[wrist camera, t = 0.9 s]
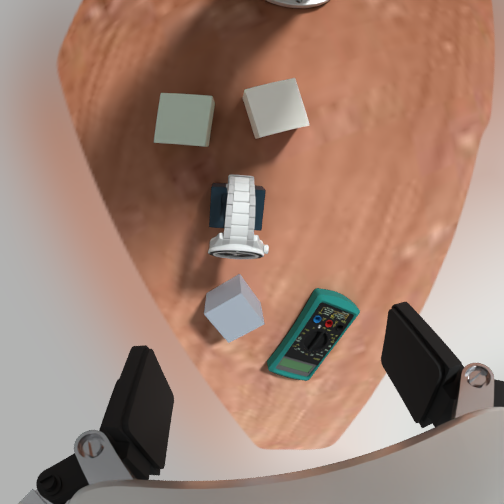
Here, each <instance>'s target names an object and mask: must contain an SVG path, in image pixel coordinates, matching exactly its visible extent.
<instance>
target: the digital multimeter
mask: <svg viewBox="0 0 504 504" xmlns="http://www.w3.org/2000/svg"><path fill="white" fill-rule="evenodd" d="M316 308H317V309H316ZM359 313H360V310H359V309H358V308H357V306H356V305H355V304H354V303H353V302H352V301H351V300H350V299H348V298H347V297H345V296H344V295H342V294H340V293H338V292H335V291H331V290H326V289H319V288H317V289H315V290H314V291H313V293H312V295H311V297H310V298H309V300H308V302H307V304H306V306H305V307H304V309H303V311H302V312H301V314H300V316H299V317H298V319H297V320H296V322H295V324H294V325H293V327H292V328H291V330H290V331H289V333H288V334H287V335H286V337H285V338H284V340H283V341H282V343H281V344H280V345H279V347H278V348H277V349H276V350H275V352H274V353H273V354H272V356H271V357H270V358H269V359H268V361H267V365H268V370H269V371H270V372H273V373H276V374H279V375H282V376H285V377H288V378H293V379H298V380H305V381H307V380H309V379H310V378H311V377H312V375H313V374H314V373H315V371H316V370H317V369H318V367H319V366H320V364H321V363H322V362H323V360H324V359H325V358H326V356H327V355H328V354H329V353H330V351H331V350H332V349H333V347H334V346H335V345H336V343H337V342H338V341H339V339H340V338H341V337H342V335H343V334H344V333H345V331H346V330H347V329H348V327H349V326H350V325H351V324H352V322H353V321H354V320H355V318H356V317H357V316H358V314H359ZM310 317H311V318H310ZM308 320H309V321H308ZM306 323H307V324H306ZM304 326H305V327H304ZM302 329H303V330H302ZM295 339H296V340H295ZM293 342H294V343H293ZM288 349H289V350H288ZM308 351H309V352H308Z"/></svg>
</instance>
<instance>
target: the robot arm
mask: <svg viewBox="0 0 504 504" xmlns="http://www.w3.org/2000/svg"><path fill="white" fill-rule="evenodd" d="M266 1H268V2H270V3H273V4H276V5H280V6H285V7H290V8H311V7H315V6H319V5H322V4H324V3H326V2H328V1H329V0H266ZM297 2H298V3H297ZM381 362H382V365H383V367H384V369H385V371H386V372H387V374H388V376H389V377H390V379H391V381H392V382H393V384H394V386H395V387H396V389H397V391H398V393H399V394H400V396H401V398H402V400H403V401H404V403H405V405H406V407H407V408H408V410H409V412H410V414H411V416H412V417H413V419H414V421H415V422H416V423H419V424H420V425H421V427H422V428H424V427H426V426H428V425H430V424H432V423H433V425H434V426H435V428H433V429H431V430H428V431H426V432H424V433H421V434H419V435H417V436H414V437H412V438H409V439H407V440H404V441H402V442H400V443H397V444H394V445H391V446H389V447H386V448H383V449H380V450H377V451H374V452H371V453H368V454H365V455H362V456H359V457H355V458H352V459H348V460H345V461H341V462H337V463H333V464H329V465H326V466H321V467H317V468H312V469H307V470H302V471H297V472H292V473H285V474H279V475H272V476H265V477H256V478H247V479H236V480H219V481H160V480H148V479H149V475H160V469H163V468H164V466H165V458H166V451H167V444H168V437H169V430H170V423H171V416H172V409H173V403H174V396H173V393H172V391H171V389H170V387H169V385H168V382H167V380H166V378H165V376H164V374H163V372H162V370H161V367H160V365H159V363H158V361H157V358H156V356H155V354H154V351H153V350H152V349H149V348H148V347H147V346H133V347H132V348H131V350H130V353H129V355H128V358H127V361H126V363H125V366H124V368H123V371H122V373H121V376H120V379H119V380H117V382H116V384H115V387H114V390H113V393H112V395H111V398H110V401H109V404H108V407H107V410H106V412H105V415H104V418H103V421H102V424H101V427H100V430H99V431H97V430H89V431H87V432H84V433H82V434H81V435H80V436H79V437H78V438H77V439H76V441H75V444H74V452H75V453H74V454H73V455H71V456H69V457H68V458H66V459H64V460H62V461H61V462H59V463H57V464H55V465H53V466H52V467H50V468H48V469H46V470H44V471H43V472H42V473H41V474H40V475H39V477H38V479H37V490H36V491H35V490H33V489H32V490H31V491H30V492H29V493H28V494H27V495H26V496H25V497H24V498H23V499H22V500H21V501H20V502H19V504H504V381H499V380H494V374H493V373H492V371H491V369H490V368H489V367H487V366H486V365H484V364H481V363H471V364H469V365H467V366H465V368H464V366H463V365H462V363H461V362H460V360H459V359H458V358H457V357H456V356H455V354H454V353H453V352H452V351H451V350H450V349H449V347H448V346H447V345H446V344H445V343H444V342H443V341H442V339H441V338H440V337H439V336H438V335H437V334H436V333H435V332H434V331H433V330H432V328H431V327H430V326H429V325H428V324H427V323H426V322H425V321H424V320H423V318H422V317H421V316H420V315H419V314H418V313H417V312H416V311H415V310H414V309H413V308H412V307H411V306H410V305H409V304H408V303H407V302H402V303H398V304H395V305H393V306H392V309H390V310H389V312H388V319H387V326H386V333H385V339H384V345H383V351H382V356H381Z"/></svg>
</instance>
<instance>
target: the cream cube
mask: <svg viewBox="0 0 504 504" xmlns="http://www.w3.org/2000/svg"><path fill="white" fill-rule="evenodd" d="M242 98H243V101H244V104H245V108H246V111H247V114H248V117H249V120H250V123H251V127H252V130H253V133H254V136H255V139H257V138H261V137H264V136H268V135H272V134H275V133H279V132H283V131H287V130H291V129H295V128H300V127H304V126H308V125H309V121H308V118H307V115H306V111H305V108H304V105H303V101H302V98H301V95H300V92H299V89H298V86H297V83H296V80H295V78H292V79H287V80H282V81H278V82H273V83H269V84H264V85H260V86H256V87H252V88H248V89H245V90H244V94H243V97H242Z"/></svg>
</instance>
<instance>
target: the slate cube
mask: <svg viewBox="0 0 504 504" xmlns="http://www.w3.org/2000/svg"><path fill="white" fill-rule="evenodd" d="M204 315H205V316H206V317H207V318H208V319H209V321H210V322H211V323H212V324H213V325H214V327H215V328H216V329H217V330H218V331H219V332H220V333H221V335H222V336H223V337H224V338H225V339H226V340H227V341H228V343H229V342H231V341H233V340H235V339H237V338H239V337H241V336H243V335H245V334H247V333H249V332H251V331H252V330H254V329H256V328H258V327H260V326H262V325H264V319H263V313H262V308H261V303H260V301H259V300H258V298H257V297H256V296H255V294H254V293H253V292H252V290H251V289H250V287H249V286H248V285H247V283H246V282H245V280H244V279H243V278H242V276H241V275H240V274H238V275H237V276H235V277H233V278H232V279H230V280H228V281H226V282H225V283H223V284H221V285H220V286H218V287H216V288H215V289H213V290H211V291H209V292H208V293H207V295H206V302H205V310H204Z"/></svg>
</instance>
